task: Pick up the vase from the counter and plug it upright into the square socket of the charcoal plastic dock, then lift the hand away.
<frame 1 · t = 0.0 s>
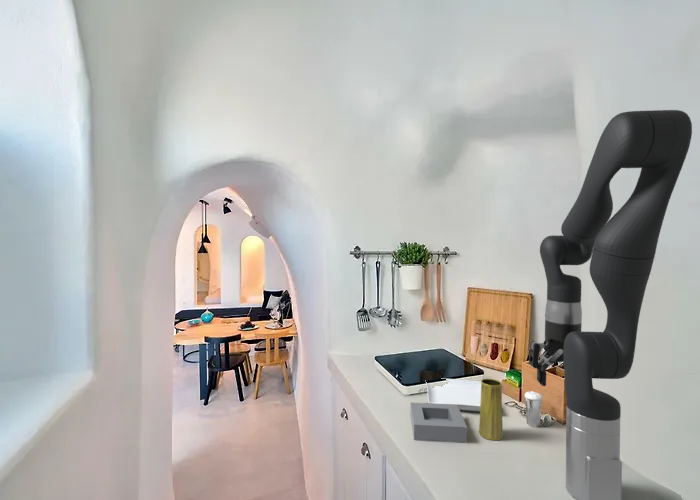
hand: (561, 385, 88), 17 cm above the countertop, tool pointing down, fingers open, 8 cm apart
milkshake: (534, 425, 104), on the countertop
dock: (436, 428, 102), on the countertop
salad plate: (459, 401, 121), on the countertop
vase: (490, 435, 99), on the countertop
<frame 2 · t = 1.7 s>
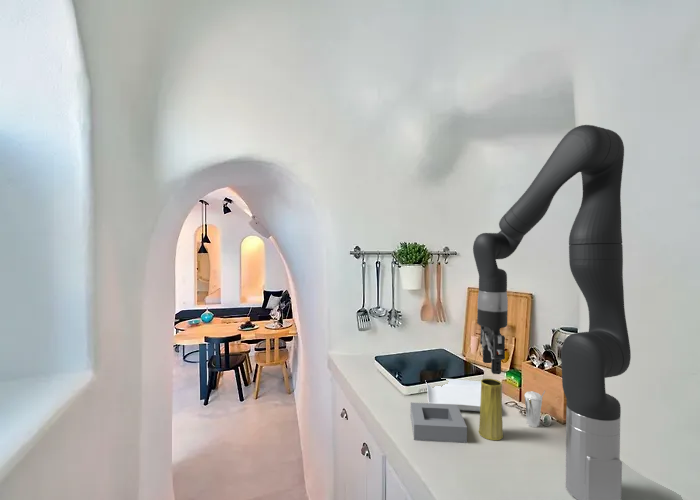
hand: (491, 367, 99), 18 cm above the countertop, tool pointing down, fingers open, 8 cm apart
nothing on the countertop moved.
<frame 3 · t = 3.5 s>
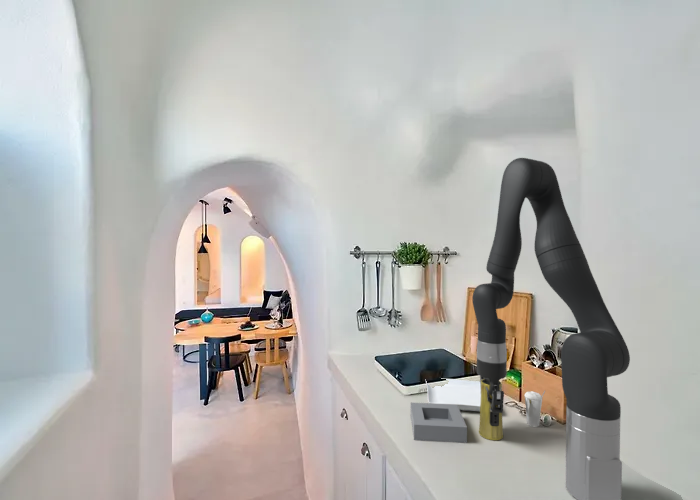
hand: (490, 419, 99), 4 cm above the countertop, tool pointing down, fingers closed on vase, 5 cm apart
vase: (490, 435, 99), on the countertop, touching gripper
everything else where it was.
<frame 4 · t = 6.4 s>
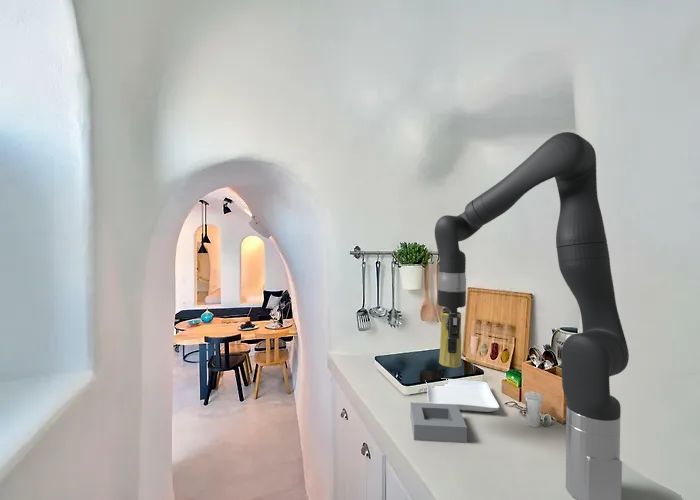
hand: (450, 349, 102), 22 cm above the countertop, tool pointing down, fingers closed on vase, 5 cm apart
vase: (450, 364, 102), point 18 cm above the countertop, touching gripper
everything else where it was.
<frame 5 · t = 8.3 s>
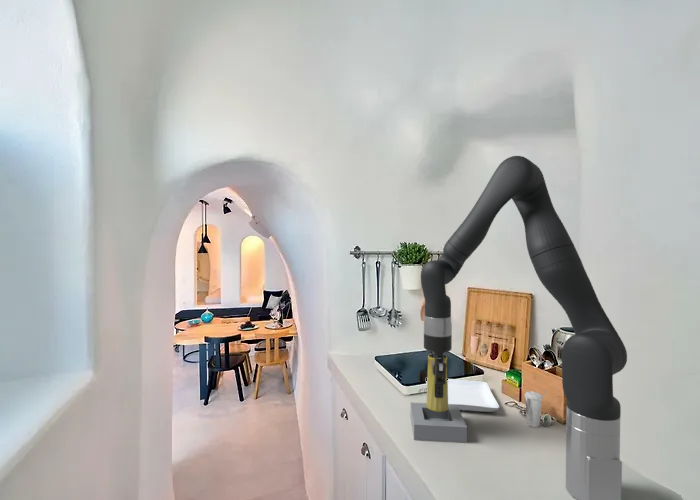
hand: (437, 392, 102), 10 cm above the countertop, tool pointing down, fingers closed on vase, 5 cm apart
vase: (437, 407, 102), point 6 cm above the countertop, touching gripper
everything else where it was.
when the fingers open (6 cm above the countertop, at t = 9.6 s): vase stays where it is, resting on dock.
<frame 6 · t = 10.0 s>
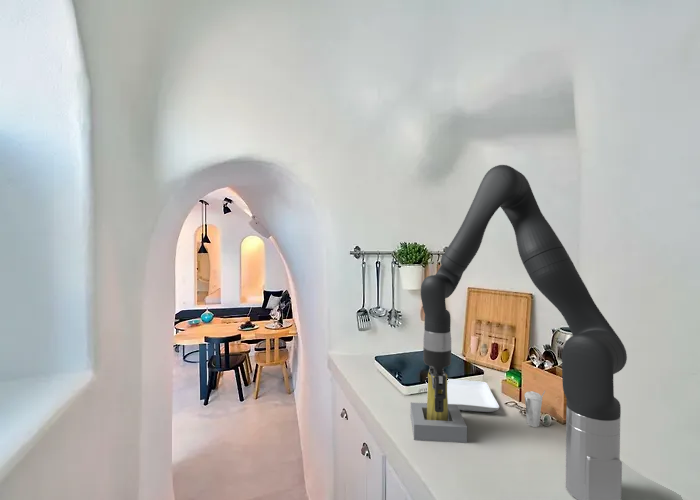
hand: (436, 404, 102), 7 cm above the countertop, tool pointing down, fingers open, 8 cm apart
vase: (437, 425, 102), point 1 cm above the countertop, touching dock
everything else where it was.
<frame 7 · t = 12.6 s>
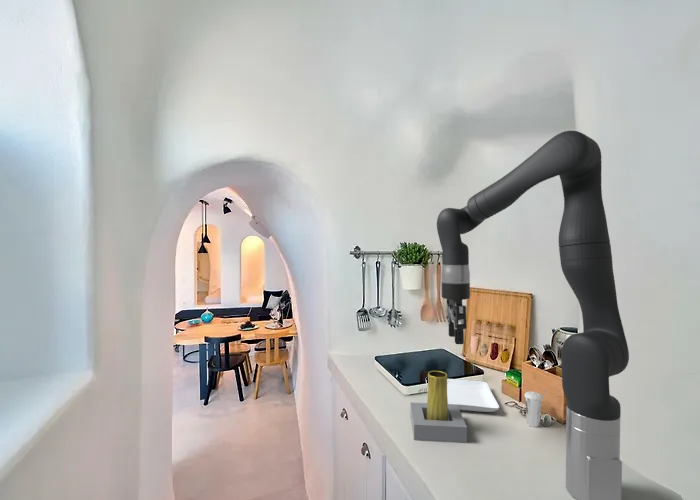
hand: (455, 340, 101), 25 cm above the countertop, tool pointing down, fingers open, 8 cm apart
nothing on the countertop moved.
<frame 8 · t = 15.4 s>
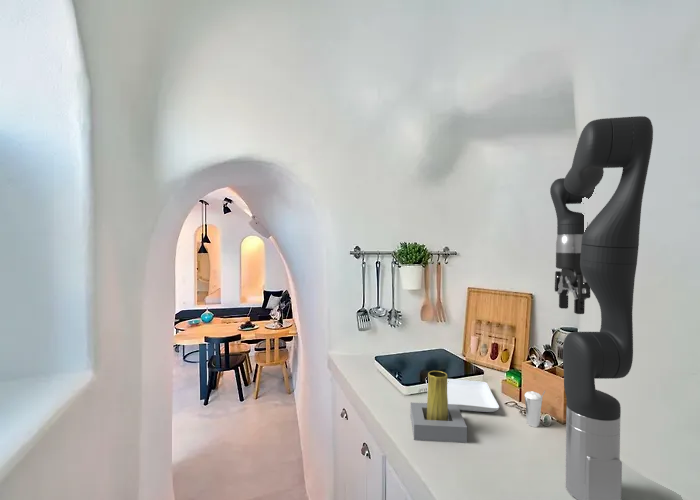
hand: (571, 310, 100), 33 cm above the countertop, tool pointing down, fingers open, 8 cm apart
nothing on the countertop moved.
at the end: vase 0.2 cm off-centre on the dock, point 0.8 cm above the dock's base; vase tilted 0°; the gripper is holding nothing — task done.
